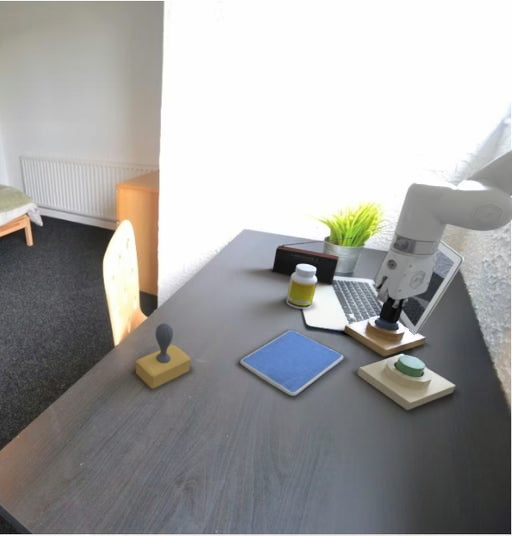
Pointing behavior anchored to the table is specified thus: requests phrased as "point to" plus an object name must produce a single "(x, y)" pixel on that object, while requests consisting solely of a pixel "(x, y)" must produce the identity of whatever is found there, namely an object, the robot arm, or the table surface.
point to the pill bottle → (302, 287)
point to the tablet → (291, 362)
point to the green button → (410, 366)
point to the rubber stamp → (163, 360)
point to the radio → (305, 262)
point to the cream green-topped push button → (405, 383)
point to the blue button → (386, 324)
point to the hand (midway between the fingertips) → (388, 319)
